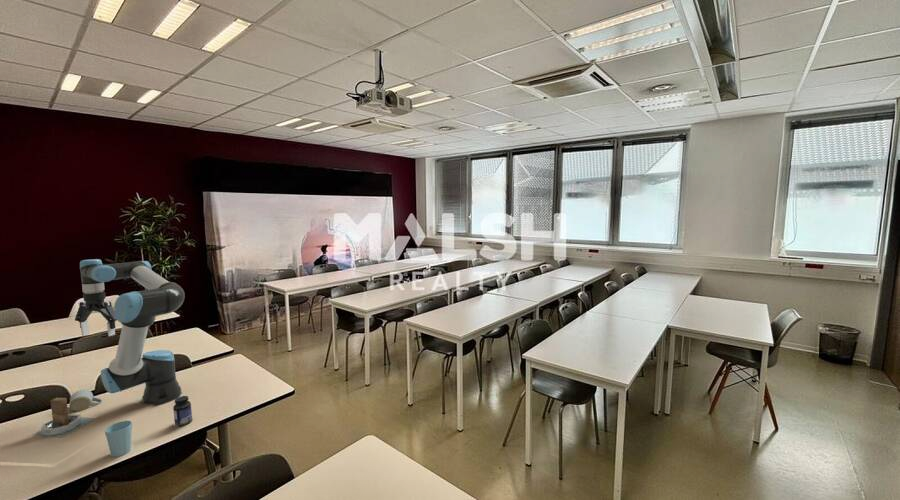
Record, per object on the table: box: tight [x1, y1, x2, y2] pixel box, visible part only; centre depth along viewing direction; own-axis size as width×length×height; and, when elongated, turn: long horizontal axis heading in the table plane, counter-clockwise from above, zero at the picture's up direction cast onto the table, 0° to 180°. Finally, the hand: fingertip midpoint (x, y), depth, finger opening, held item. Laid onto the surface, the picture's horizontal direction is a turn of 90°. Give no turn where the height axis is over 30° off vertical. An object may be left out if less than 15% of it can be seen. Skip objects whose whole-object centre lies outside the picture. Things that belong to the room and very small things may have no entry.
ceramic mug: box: [68, 389, 103, 412], centre depth 170 cm, size 11×8×8 cm
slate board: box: [32, 416, 98, 438], centre depth 153 cm, size 13×14×1 cm
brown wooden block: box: [50, 397, 69, 426], centre depth 151 cm, size 2×4×12 cm, turn 85°
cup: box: [104, 420, 133, 458], centre depth 137 cm, size 8×8×10 cm
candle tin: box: [40, 413, 82, 436], centre depth 152 cm, size 11×11×3 cm
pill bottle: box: [172, 395, 193, 427], centre depth 156 cm, size 6×6×11 cm
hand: (98, 335), depth 175 cm, fingers open, 13 cm apart
